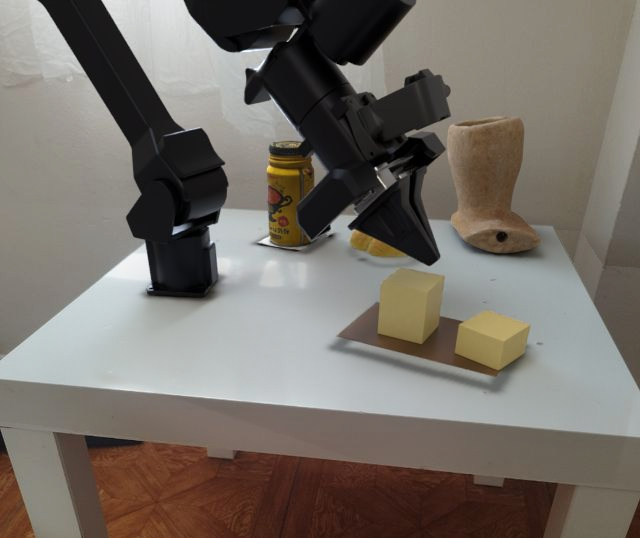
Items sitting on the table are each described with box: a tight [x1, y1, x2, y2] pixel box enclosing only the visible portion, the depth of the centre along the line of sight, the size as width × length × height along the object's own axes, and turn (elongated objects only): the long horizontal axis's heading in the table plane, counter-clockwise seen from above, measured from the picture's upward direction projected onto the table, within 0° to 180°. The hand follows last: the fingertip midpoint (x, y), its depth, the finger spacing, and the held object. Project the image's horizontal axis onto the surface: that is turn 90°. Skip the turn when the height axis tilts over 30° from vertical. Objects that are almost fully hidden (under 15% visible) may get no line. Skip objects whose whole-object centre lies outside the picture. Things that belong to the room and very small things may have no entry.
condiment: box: [256, 140, 334, 251], centre depth 79 cm, size 7×8×12 cm
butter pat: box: [455, 309, 532, 371], centre depth 53 cm, size 4×4×3 cm
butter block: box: [378, 266, 446, 344], centre depth 56 cm, size 4×4×5 cm
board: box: [336, 301, 502, 378], centre depth 57 cm, size 15×9×1 cm, turn 61°
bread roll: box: [349, 230, 409, 258], centre depth 77 cm, size 8×9×4 cm
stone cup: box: [446, 115, 543, 254], centre depth 79 cm, size 15×12×15 cm
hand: (435, 262), depth 53 cm, fingers closed
